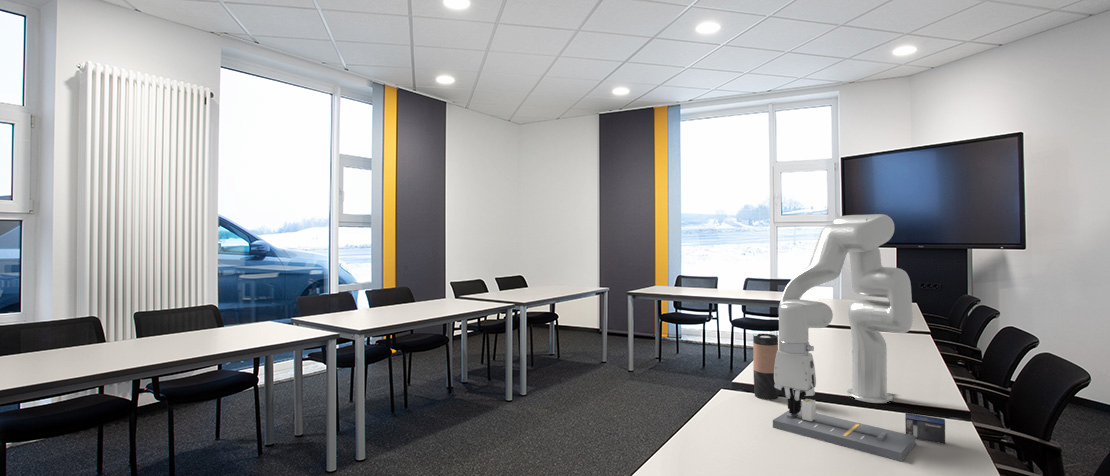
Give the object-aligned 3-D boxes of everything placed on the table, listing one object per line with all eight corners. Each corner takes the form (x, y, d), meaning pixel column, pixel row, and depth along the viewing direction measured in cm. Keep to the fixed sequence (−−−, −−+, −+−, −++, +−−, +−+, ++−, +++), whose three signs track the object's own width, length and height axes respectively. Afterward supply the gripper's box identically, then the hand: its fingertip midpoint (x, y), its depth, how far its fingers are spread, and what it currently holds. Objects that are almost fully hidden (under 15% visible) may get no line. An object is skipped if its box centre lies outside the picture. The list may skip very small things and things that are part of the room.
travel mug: (781, 400, 162) (780, 338, 162) (756, 399, 164) (755, 337, 164) (775, 393, 170) (775, 333, 170) (751, 392, 171) (751, 333, 171)
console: (793, 414, 150) (793, 405, 150) (915, 444, 128) (915, 432, 128) (772, 427, 140) (772, 417, 140) (901, 461, 118) (901, 449, 118)
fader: (806, 416, 142) (806, 398, 142) (815, 418, 140) (815, 400, 140) (802, 419, 140) (802, 400, 140) (811, 421, 138) (811, 402, 138)
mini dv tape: (905, 437, 132) (905, 414, 132) (905, 435, 133) (905, 412, 133) (945, 444, 128) (945, 420, 128) (944, 442, 129) (944, 418, 129)
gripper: (827, 349, 140) (827, 416, 140) (773, 341, 151) (773, 403, 151) (816, 354, 134) (817, 423, 135) (761, 345, 145) (762, 409, 146)
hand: (794, 412), depth 143 cm, fingers closed
